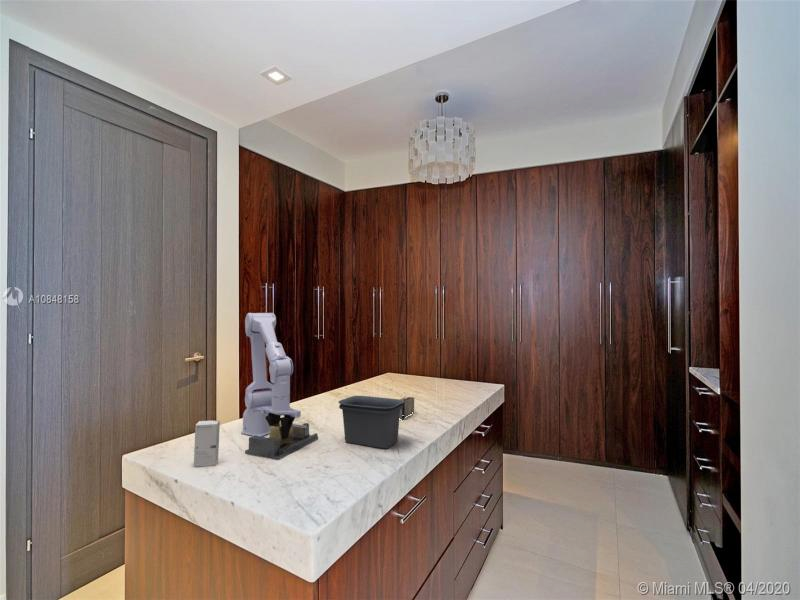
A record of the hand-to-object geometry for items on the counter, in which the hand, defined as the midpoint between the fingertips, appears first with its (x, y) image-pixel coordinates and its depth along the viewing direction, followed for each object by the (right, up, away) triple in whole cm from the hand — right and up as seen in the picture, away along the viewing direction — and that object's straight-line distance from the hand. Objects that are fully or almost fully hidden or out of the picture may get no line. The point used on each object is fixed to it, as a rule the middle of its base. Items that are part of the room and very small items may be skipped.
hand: (280, 437), depth 132 cm
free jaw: (+4, -2, +10) cm, 11 cm away
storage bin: (+30, -4, +7) cm, 31 cm away
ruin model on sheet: (+42, -5, +38) cm, 57 cm away
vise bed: (+1, -4, +1) cm, 4 cm away
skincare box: (-18, -3, -14) cm, 23 cm away
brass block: (0, -2, 0) cm, 2 cm away
